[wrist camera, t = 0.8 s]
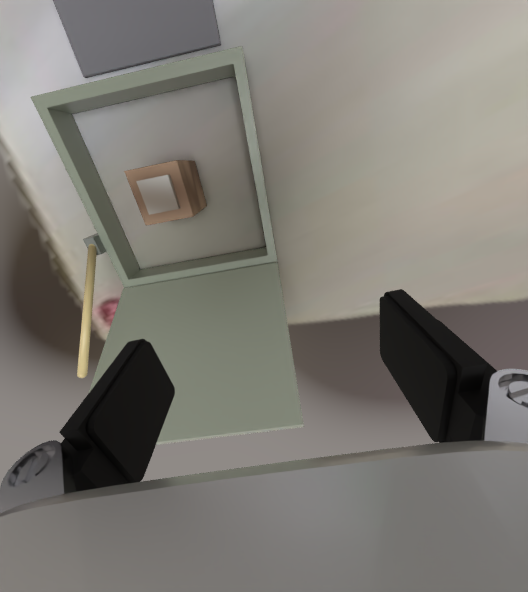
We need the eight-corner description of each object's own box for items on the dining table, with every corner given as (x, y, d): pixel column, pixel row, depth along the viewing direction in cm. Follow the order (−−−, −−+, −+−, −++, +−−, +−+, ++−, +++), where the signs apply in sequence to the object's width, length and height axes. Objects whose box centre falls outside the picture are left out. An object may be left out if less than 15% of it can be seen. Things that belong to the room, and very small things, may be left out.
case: (47, 107, 26) (-393, -8, 9) (244, 60, 25) (201, -199, 7) (151, 327, 40) (62, 461, 22) (284, 306, 38) (304, 432, 20)
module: (153, 169, 29) (121, 171, 23) (194, 160, 29) (174, 160, 22) (168, 213, 32) (143, 226, 25) (206, 205, 31) (192, 217, 24)
